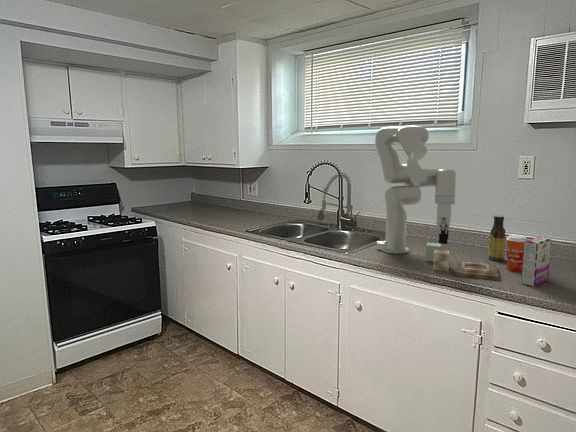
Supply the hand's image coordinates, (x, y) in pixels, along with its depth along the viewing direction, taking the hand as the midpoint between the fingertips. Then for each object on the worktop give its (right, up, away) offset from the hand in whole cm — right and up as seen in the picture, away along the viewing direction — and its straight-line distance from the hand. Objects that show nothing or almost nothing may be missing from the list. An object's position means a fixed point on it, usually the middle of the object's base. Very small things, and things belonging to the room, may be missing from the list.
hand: (443, 241), depth 171 cm
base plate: (+11, -12, -3) cm, 17 cm away
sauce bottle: (+29, -9, +15) cm, 34 cm away
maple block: (0, -11, +3) cm, 12 cm away
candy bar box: (+28, -15, -16) cm, 35 cm away
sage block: (+1, -9, +16) cm, 18 cm away
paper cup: (+29, -12, -1) cm, 31 cm away
